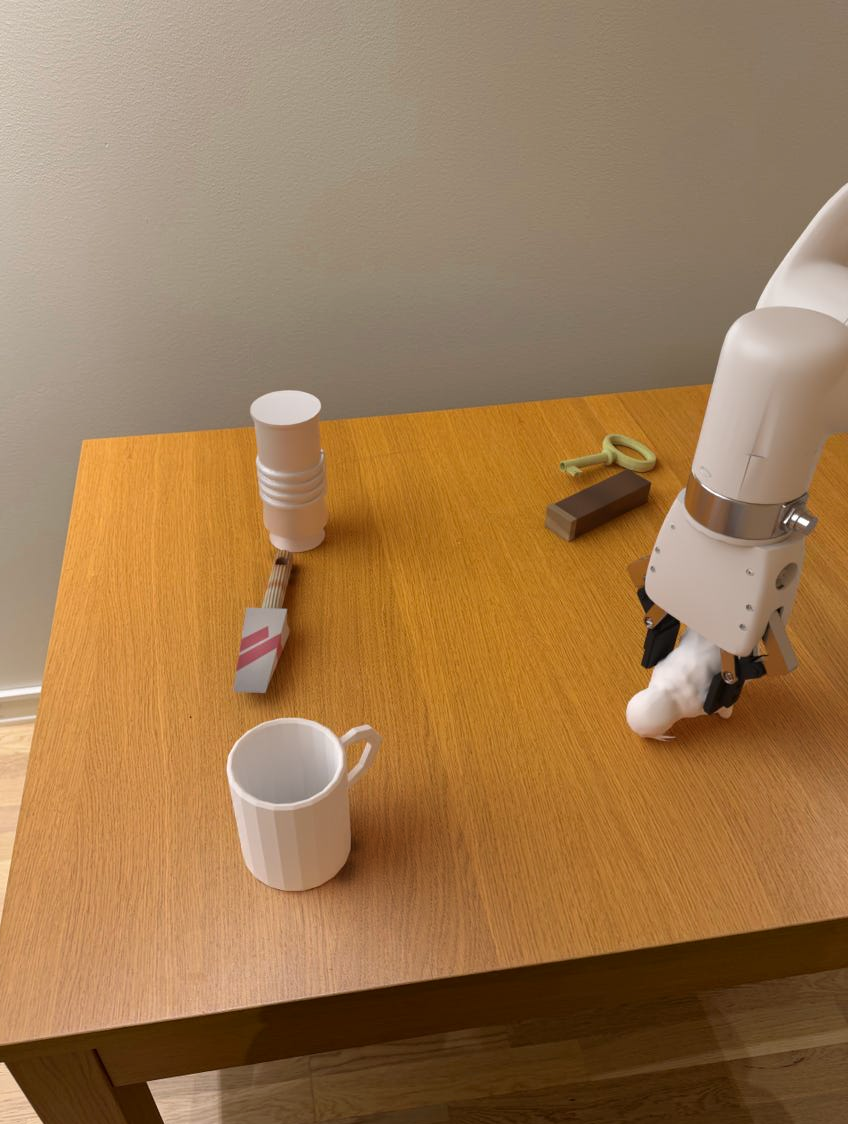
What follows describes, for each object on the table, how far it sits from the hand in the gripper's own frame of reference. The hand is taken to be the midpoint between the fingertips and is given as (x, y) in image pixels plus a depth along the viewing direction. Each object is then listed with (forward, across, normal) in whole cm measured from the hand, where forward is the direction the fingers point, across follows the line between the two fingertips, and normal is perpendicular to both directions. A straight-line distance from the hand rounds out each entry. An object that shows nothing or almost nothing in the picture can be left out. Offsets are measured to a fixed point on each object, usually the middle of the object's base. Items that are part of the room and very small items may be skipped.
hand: (686, 681), depth 75 cm
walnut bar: (+4, +25, -16) cm, 30 cm away
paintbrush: (+4, +30, +22) cm, 37 cm away
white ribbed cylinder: (+4, +41, +12) cm, 43 cm away
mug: (+4, +8, +31) cm, 32 cm away
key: (+4, +31, -24) cm, 39 cm away
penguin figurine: (+4, 0, 0) cm, 4 cm away
